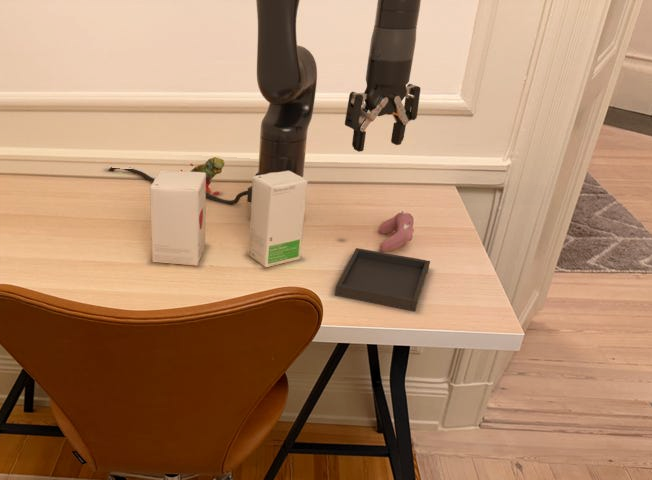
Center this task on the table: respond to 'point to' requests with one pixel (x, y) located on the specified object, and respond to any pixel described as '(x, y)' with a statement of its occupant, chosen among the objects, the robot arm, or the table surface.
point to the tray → (383, 279)
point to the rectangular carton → (178, 217)
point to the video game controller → (397, 231)
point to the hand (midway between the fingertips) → (377, 147)
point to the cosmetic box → (277, 217)
